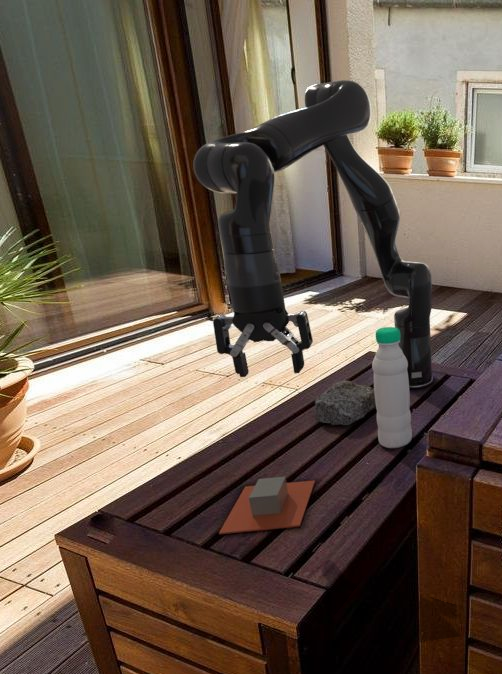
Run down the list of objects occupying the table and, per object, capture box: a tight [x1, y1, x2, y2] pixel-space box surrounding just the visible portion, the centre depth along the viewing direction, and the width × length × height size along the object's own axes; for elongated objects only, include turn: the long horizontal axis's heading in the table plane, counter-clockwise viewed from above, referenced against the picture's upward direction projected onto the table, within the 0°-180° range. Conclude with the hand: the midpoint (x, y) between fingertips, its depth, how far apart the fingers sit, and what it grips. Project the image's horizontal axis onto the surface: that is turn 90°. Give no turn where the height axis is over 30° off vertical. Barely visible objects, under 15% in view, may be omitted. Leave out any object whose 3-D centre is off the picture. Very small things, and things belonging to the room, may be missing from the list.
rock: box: [314, 379, 376, 426], centre depth 111 cm, size 13×6×15 cm
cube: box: [249, 476, 288, 516], centre depth 79 cm, size 5×4×4 cm
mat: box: [218, 480, 316, 535], centre depth 80 cm, size 12×12×1 cm
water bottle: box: [371, 326, 413, 449], centre depth 96 cm, size 7×7×25 cm
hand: (271, 373), depth 80 cm, fingers open, 8 cm apart
